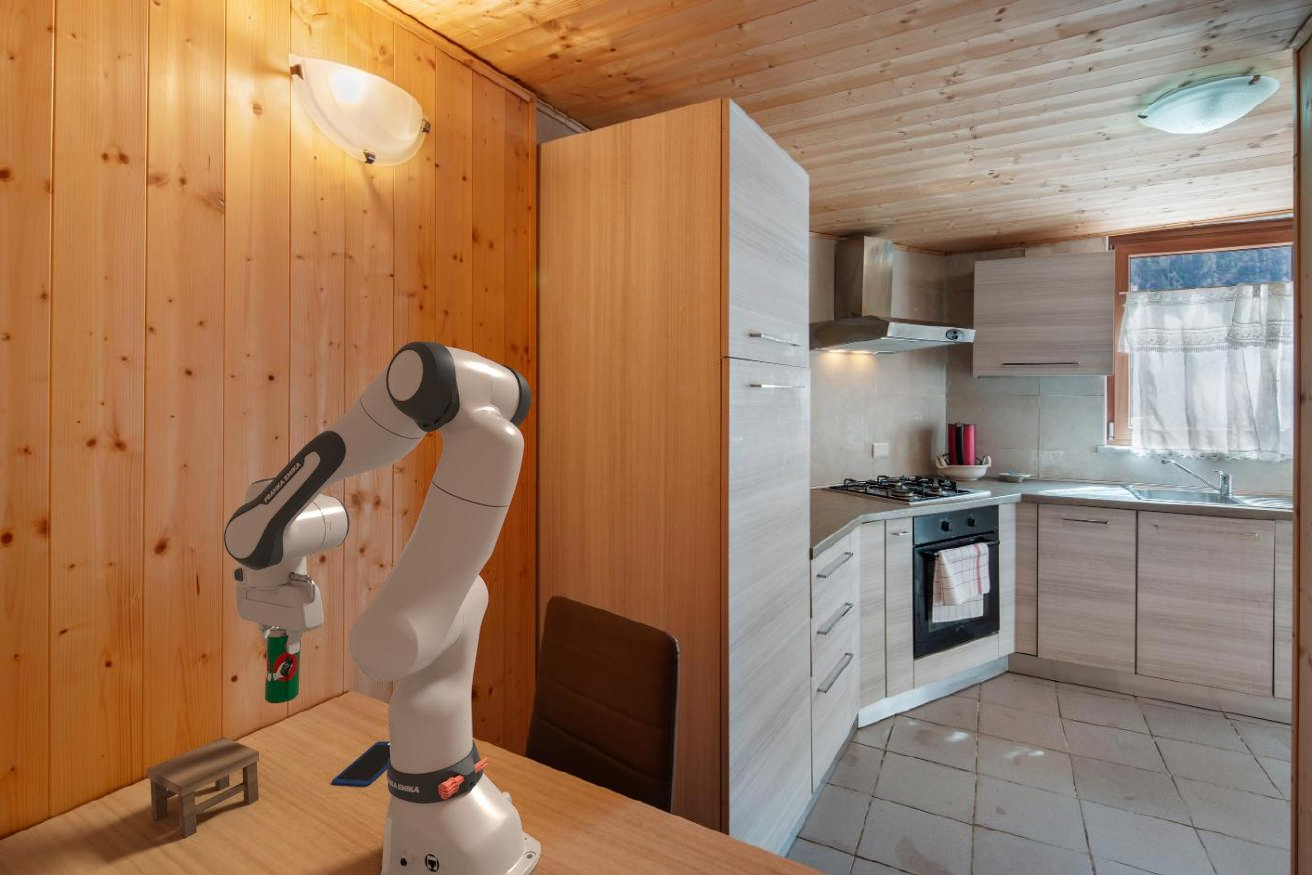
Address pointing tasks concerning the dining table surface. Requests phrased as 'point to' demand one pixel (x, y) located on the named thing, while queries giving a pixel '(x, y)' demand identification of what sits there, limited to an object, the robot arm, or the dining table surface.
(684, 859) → the dining table surface
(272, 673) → the soda can
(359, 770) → the cell phone
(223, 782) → the stool
